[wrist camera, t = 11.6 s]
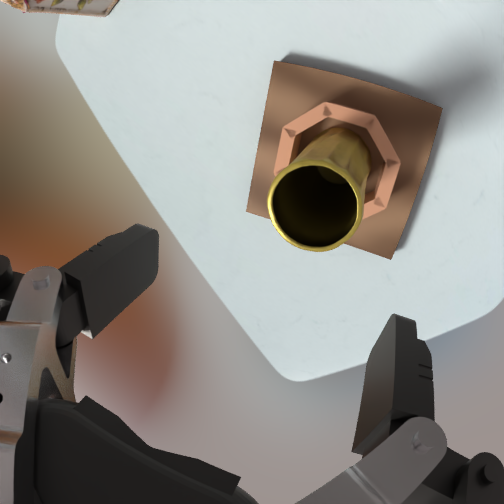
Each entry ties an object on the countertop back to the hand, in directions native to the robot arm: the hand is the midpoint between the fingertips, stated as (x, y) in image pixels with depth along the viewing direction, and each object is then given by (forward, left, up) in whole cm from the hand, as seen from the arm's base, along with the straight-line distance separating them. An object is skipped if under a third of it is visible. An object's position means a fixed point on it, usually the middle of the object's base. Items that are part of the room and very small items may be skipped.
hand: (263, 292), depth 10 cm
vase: (0, 0, -23) cm, 22 cm away
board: (0, 0, -24) cm, 24 cm away
